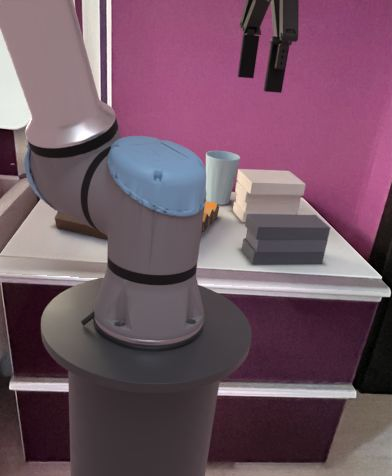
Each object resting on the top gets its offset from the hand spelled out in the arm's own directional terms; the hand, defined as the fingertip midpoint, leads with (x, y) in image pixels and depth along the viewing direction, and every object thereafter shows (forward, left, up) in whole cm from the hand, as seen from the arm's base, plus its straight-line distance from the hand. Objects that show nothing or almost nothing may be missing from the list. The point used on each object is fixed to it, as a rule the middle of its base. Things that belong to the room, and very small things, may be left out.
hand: (258, 84), depth 93 cm
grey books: (+8, -5, -29) cm, 30 cm away
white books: (+12, +16, -29) cm, 35 cm away
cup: (+4, +26, -29) cm, 39 cm away
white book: (+12, +16, -22) cm, 30 cm away
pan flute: (-16, +12, -29) cm, 35 cm away
